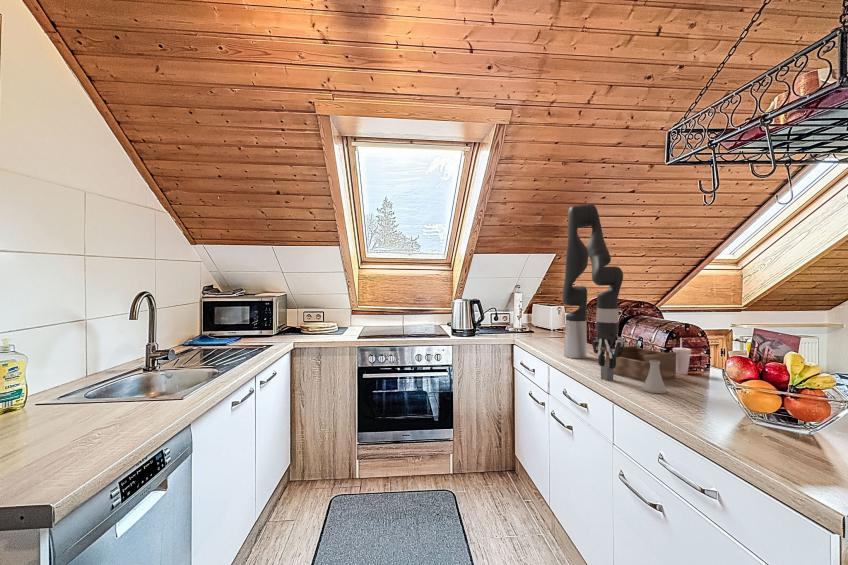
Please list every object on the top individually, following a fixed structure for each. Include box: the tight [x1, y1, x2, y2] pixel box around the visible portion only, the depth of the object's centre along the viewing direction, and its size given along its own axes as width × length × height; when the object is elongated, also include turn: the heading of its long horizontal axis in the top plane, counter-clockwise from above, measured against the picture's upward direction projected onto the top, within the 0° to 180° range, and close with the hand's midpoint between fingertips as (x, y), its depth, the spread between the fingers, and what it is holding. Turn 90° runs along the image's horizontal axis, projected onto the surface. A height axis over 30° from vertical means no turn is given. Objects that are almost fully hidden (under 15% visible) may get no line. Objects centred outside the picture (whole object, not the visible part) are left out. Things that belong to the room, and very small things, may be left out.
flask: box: [641, 360, 668, 394], centre depth 142 cm, size 7×7×10 cm
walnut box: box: [605, 345, 677, 383], centre depth 165 cm, size 18×16×10 cm
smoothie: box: [672, 337, 692, 376], centre depth 167 cm, size 6×6×14 cm
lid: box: [600, 364, 614, 382], centre depth 158 cm, size 17×13×6 cm
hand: (607, 366), depth 158 cm, fingers open, 4 cm apart
